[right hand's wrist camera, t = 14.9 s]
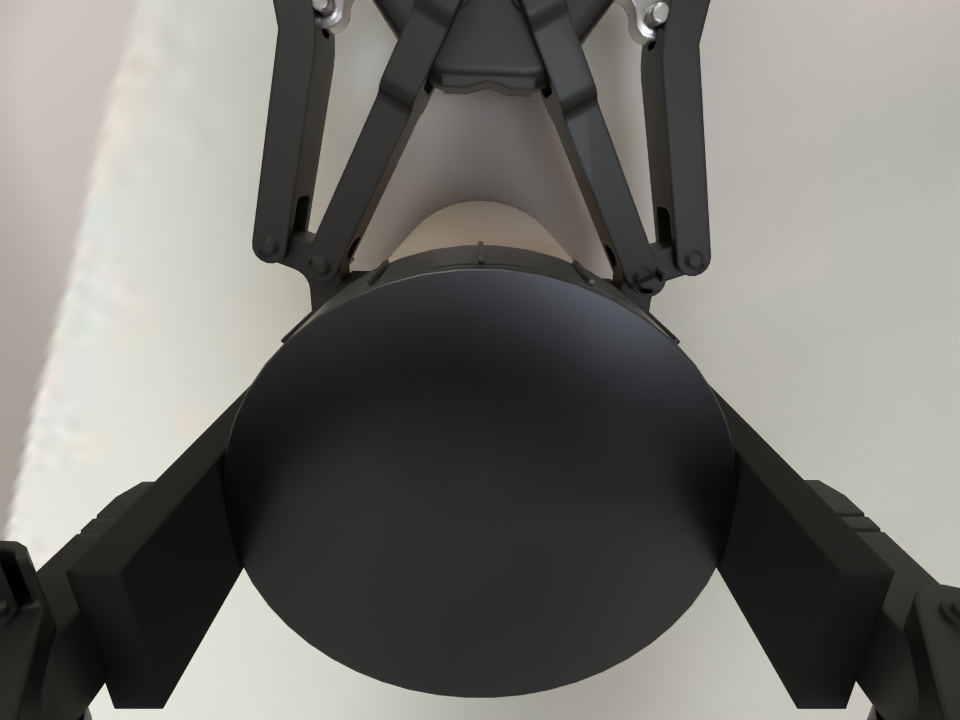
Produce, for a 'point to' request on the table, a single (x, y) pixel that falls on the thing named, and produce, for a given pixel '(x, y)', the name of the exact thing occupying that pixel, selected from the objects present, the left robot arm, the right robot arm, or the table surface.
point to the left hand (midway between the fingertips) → (476, 428)
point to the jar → (479, 230)
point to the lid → (480, 475)
